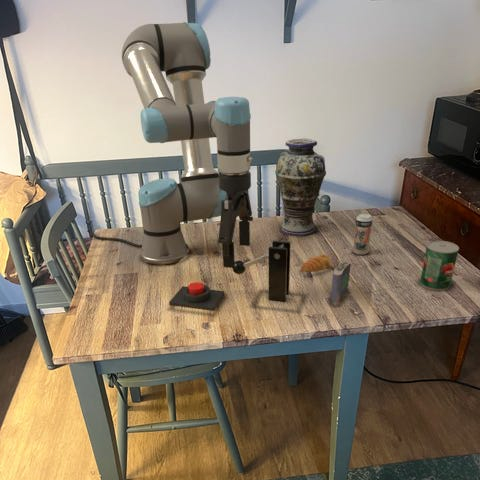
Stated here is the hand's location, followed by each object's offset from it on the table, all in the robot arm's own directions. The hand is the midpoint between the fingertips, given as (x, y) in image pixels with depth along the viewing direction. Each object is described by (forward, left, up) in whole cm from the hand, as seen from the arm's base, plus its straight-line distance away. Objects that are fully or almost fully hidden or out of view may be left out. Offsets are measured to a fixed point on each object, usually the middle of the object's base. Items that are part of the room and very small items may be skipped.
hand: (237, 255), depth 119 cm
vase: (-7, +52, -12) cm, 53 cm away
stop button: (-7, -9, -8) cm, 14 cm away
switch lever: (+6, +1, -2) cm, 7 cm away
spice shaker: (+19, +43, -12) cm, 48 cm away
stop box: (-7, -9, -12) cm, 16 cm away
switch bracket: (+11, +3, -12) cm, 16 cm away
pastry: (+12, +25, -12) cm, 30 cm away
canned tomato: (+44, +32, -12) cm, 55 cm away
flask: (+24, +12, -12) cm, 29 cm away
